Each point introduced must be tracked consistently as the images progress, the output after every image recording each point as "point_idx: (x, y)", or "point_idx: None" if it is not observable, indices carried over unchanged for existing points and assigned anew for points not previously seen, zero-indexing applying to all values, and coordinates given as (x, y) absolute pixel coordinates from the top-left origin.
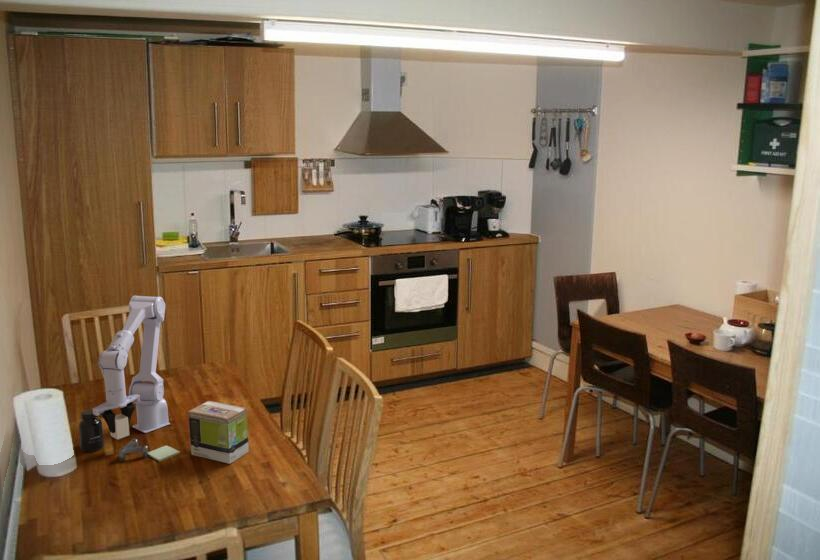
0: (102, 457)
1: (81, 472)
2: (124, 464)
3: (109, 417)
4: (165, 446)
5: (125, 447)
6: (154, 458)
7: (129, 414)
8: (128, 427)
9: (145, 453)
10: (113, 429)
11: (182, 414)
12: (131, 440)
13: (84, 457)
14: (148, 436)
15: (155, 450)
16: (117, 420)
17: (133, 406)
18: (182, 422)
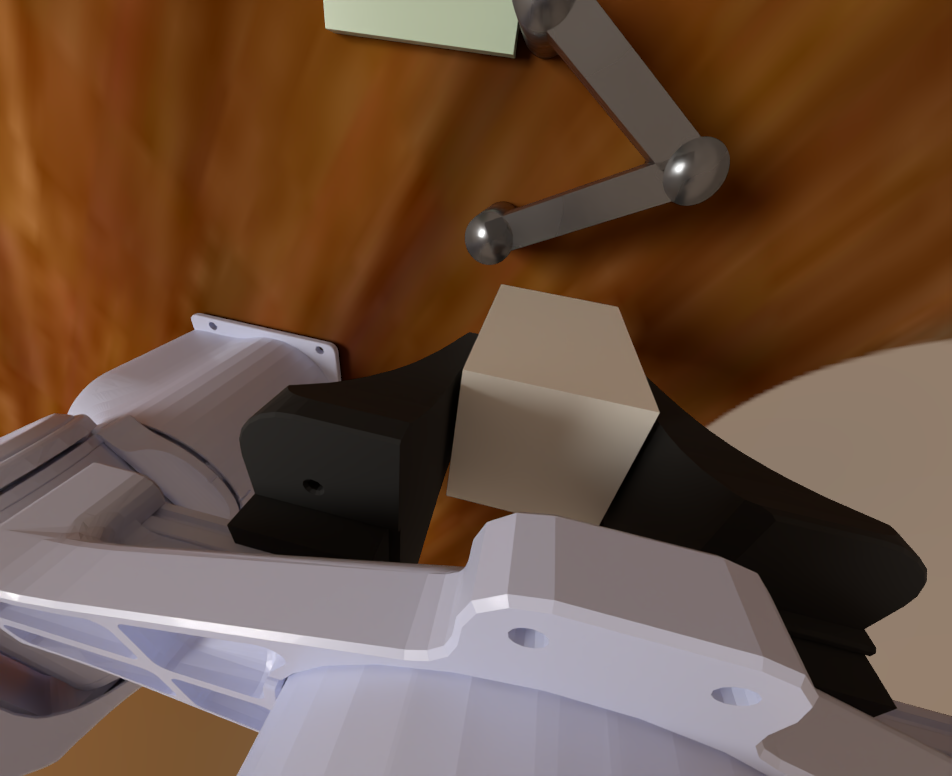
0: (672, 332)
1: (949, 284)
2: (740, 73)
3: (866, 517)
4: (342, 10)
5: (646, 175)
6: None
7: (420, 385)
8: (493, 311)
9: None
10: (647, 380)
11: (120, 344)
12: (509, 250)
13: (703, 416)
14: (342, 306)
15: (438, 21)
16: (621, 414)
17: (281, 418)
18: (136, 275)
